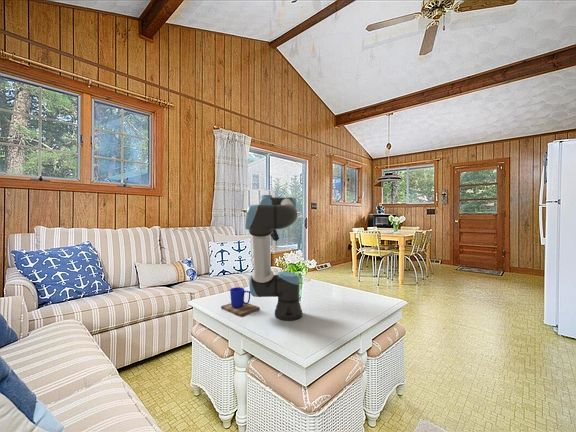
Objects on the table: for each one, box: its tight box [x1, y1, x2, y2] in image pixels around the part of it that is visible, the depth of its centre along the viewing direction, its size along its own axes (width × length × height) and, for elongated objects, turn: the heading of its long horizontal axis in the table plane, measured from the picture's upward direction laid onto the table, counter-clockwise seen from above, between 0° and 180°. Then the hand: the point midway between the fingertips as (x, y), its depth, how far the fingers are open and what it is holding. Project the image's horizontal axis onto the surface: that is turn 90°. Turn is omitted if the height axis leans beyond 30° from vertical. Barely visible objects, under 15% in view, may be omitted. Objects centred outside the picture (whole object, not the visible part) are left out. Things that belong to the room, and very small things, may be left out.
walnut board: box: [220, 301, 260, 317], centre depth 162 cm, size 18×14×2 cm
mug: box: [229, 286, 251, 308], centre depth 162 cm, size 8×12×10 cm
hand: (266, 251), depth 181 cm, fingers open, 13 cm apart
